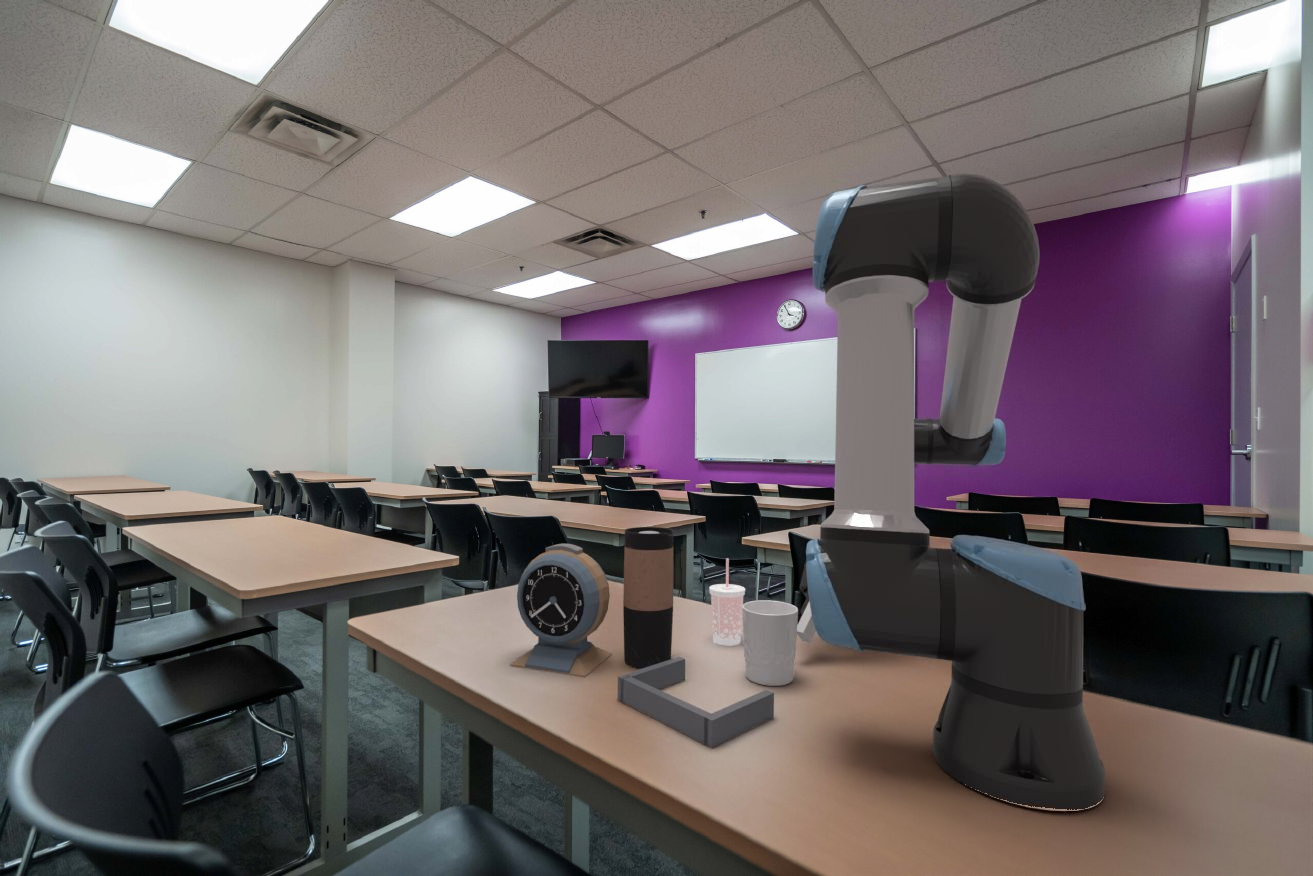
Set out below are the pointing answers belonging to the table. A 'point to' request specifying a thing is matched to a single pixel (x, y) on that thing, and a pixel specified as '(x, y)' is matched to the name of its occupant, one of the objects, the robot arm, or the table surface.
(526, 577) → the alarm clock
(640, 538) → the travel mug
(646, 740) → the table surface
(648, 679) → the corral
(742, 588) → the beverage cup
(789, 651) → the white cup
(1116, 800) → the table surface
